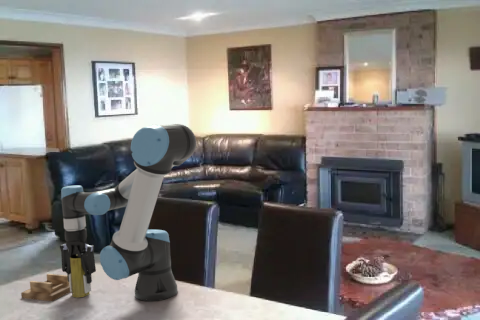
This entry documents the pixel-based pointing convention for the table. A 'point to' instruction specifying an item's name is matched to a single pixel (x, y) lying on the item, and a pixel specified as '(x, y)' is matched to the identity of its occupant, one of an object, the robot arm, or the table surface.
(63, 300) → the table surface
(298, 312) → the table surface
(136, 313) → the table surface
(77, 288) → the vase
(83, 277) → the robot arm
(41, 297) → the holder
